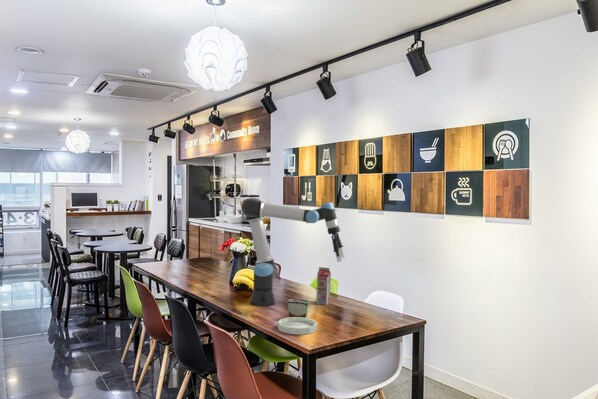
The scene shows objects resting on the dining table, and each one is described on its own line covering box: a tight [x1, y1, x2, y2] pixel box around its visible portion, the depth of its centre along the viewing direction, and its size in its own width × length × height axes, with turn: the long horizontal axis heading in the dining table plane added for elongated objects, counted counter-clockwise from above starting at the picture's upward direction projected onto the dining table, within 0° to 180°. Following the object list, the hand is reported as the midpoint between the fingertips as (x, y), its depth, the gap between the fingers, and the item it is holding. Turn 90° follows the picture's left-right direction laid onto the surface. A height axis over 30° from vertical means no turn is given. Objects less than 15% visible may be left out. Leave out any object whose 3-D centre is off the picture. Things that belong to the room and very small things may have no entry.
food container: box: [286, 298, 310, 318], centre depth 230 cm, size 12×6×10 cm, turn 71°
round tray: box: [277, 316, 318, 336], centre depth 213 cm, size 19×19×3 cm
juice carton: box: [315, 266, 332, 306], centre depth 266 cm, size 7×7×22 cm
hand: (341, 259), depth 271 cm, fingers open, 13 cm apart
